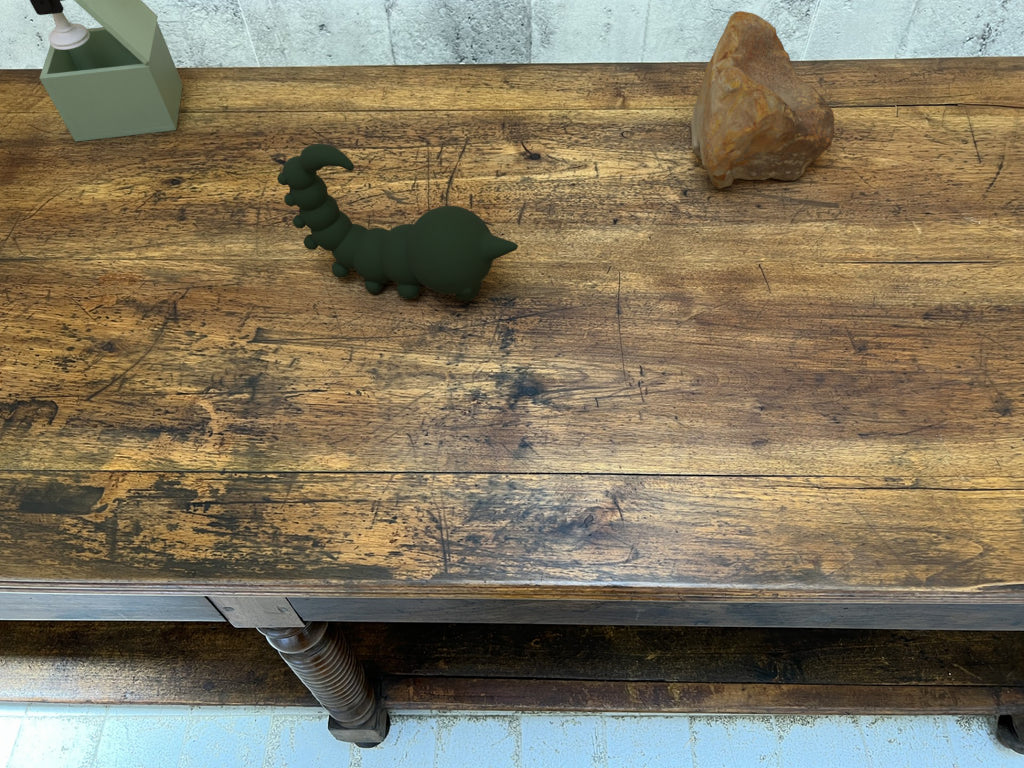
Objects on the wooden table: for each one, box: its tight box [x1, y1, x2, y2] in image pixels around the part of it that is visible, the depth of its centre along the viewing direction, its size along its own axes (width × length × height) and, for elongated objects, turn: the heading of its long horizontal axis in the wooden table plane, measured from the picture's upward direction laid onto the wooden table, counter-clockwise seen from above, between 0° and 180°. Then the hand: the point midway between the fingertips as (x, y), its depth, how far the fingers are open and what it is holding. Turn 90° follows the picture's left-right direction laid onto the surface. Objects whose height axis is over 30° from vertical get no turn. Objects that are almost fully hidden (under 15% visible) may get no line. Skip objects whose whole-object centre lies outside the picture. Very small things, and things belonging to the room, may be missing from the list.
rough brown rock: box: [690, 10, 835, 189], centre depth 100 cm, size 23×17×15 cm
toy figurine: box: [276, 143, 519, 302], centre depth 87 cm, size 9×19×25 cm
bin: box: [39, 21, 184, 143], centre depth 111 cm, size 14×11×10 cm
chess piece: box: [48, 11, 90, 50], centre depth 101 cm, size 5×5×10 cm
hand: (52, 5), depth 102 cm, fingers closed on chess piece
